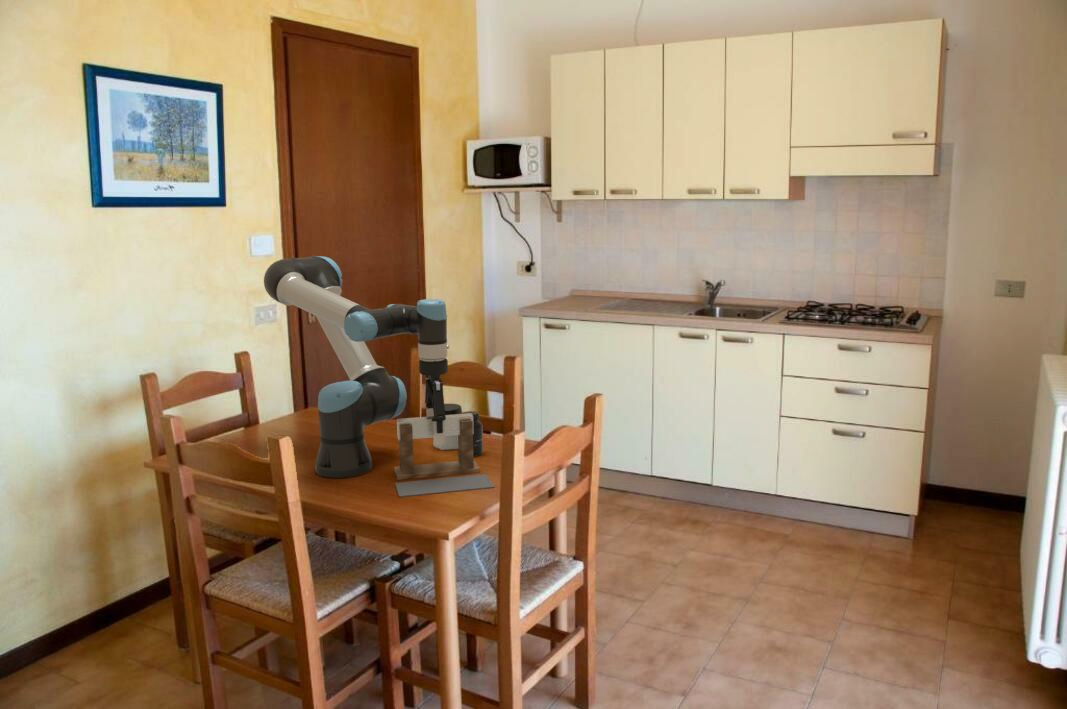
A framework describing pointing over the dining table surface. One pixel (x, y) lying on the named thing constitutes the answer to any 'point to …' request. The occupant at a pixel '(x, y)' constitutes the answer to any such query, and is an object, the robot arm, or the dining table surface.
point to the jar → (450, 441)
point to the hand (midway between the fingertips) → (435, 437)
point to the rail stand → (436, 469)
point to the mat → (443, 485)
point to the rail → (425, 426)
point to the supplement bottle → (477, 433)
